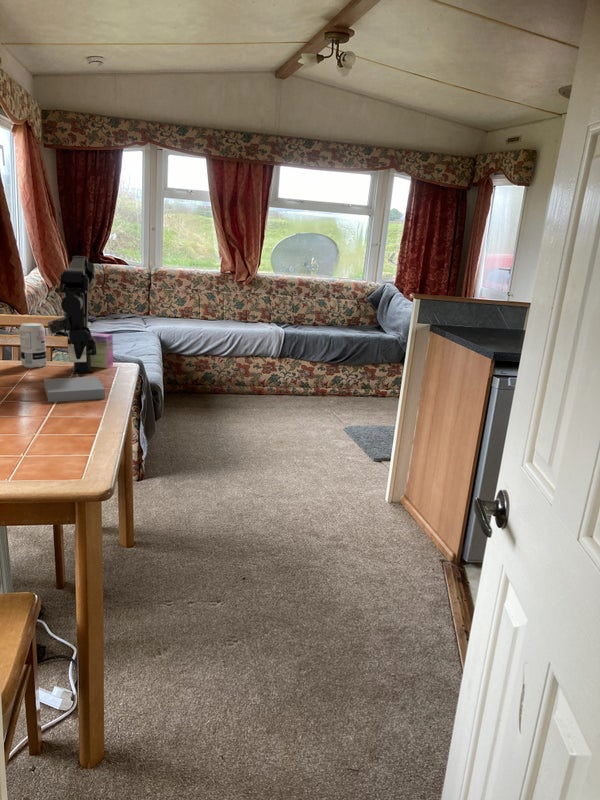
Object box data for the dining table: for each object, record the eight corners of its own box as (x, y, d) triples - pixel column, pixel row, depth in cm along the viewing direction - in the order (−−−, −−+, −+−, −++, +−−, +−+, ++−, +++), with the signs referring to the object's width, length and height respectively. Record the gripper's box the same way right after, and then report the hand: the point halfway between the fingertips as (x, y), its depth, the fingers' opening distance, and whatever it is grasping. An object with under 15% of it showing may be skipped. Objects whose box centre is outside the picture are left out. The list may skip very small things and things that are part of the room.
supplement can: (22, 363, 221) (20, 322, 216) (47, 363, 223) (45, 322, 219) (20, 368, 213) (17, 326, 209) (46, 368, 216) (43, 326, 212)
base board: (44, 388, 191) (43, 379, 190) (97, 385, 198) (96, 376, 197) (48, 402, 178) (48, 392, 177) (105, 398, 185) (104, 388, 184)
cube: (68, 359, 201) (67, 344, 200) (84, 358, 203) (83, 343, 202) (70, 362, 197) (69, 347, 195) (86, 361, 199) (85, 346, 198)
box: (113, 365, 226) (112, 333, 223) (107, 368, 221) (106, 336, 218) (86, 362, 227) (85, 331, 224) (79, 366, 222) (78, 334, 218)
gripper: (46, 306, 200) (48, 352, 204) (51, 314, 184) (53, 364, 188) (81, 305, 205) (83, 351, 209) (89, 314, 189) (91, 363, 193)
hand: (77, 357), depth 200 cm, fingers closed on cube, 5 cm apart
